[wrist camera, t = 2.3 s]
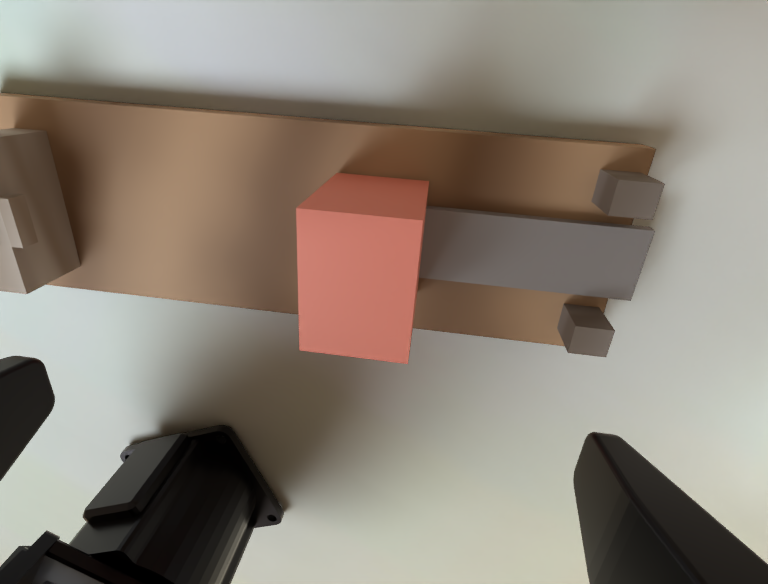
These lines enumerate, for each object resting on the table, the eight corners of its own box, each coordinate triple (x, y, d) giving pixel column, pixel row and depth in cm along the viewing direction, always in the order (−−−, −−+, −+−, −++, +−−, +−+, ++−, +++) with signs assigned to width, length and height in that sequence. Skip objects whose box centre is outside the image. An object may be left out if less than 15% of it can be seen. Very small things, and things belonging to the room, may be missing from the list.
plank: (642, 144, 14) (699, 163, 11) (584, 335, 17) (615, 392, 14) (-2, 92, 16) (-112, 95, 13) (50, 273, 19) (-28, 311, 16)
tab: (658, 201, 14) (744, 252, 10) (619, 316, 15) (679, 398, 11) (336, 172, 14) (295, 207, 10) (334, 284, 16) (299, 350, 12)
